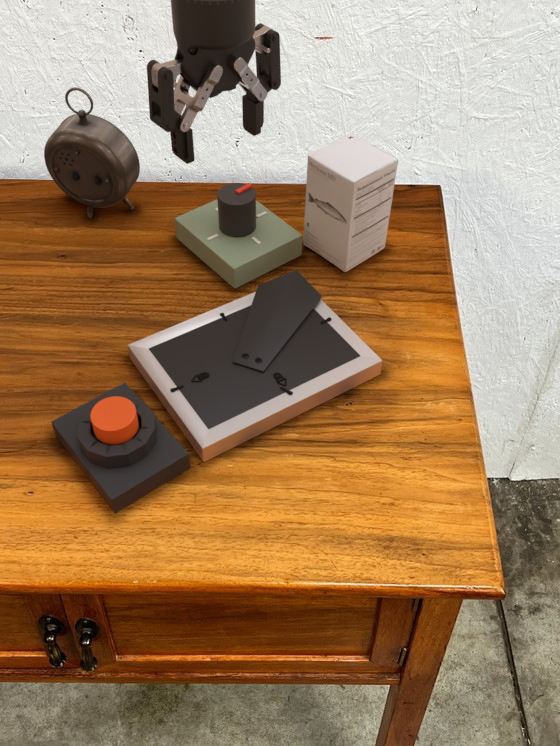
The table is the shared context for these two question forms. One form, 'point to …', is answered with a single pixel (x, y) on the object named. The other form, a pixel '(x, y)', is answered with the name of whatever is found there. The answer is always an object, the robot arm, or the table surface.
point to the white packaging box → (348, 200)
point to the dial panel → (238, 243)
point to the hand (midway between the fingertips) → (219, 145)
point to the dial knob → (237, 209)
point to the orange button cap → (114, 420)
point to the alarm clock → (92, 159)
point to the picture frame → (253, 364)
